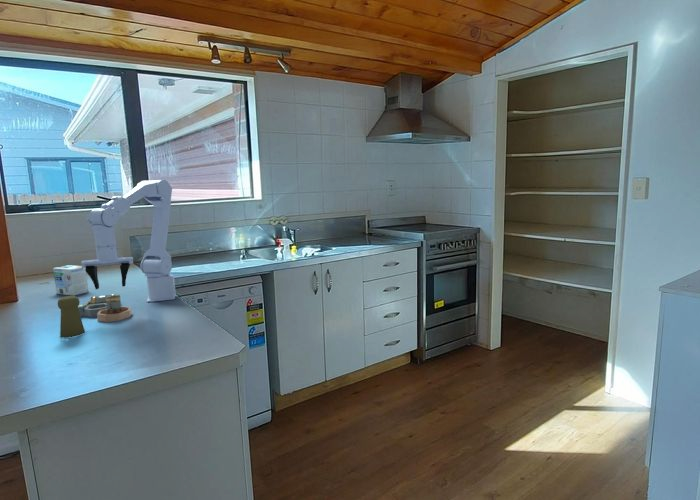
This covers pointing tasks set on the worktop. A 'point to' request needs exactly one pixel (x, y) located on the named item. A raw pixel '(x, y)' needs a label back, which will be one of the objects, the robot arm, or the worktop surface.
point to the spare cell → (98, 299)
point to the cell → (113, 304)
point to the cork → (70, 317)
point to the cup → (114, 315)
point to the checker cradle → (91, 309)
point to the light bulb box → (70, 280)
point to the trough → (89, 304)
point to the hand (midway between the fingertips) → (110, 287)
